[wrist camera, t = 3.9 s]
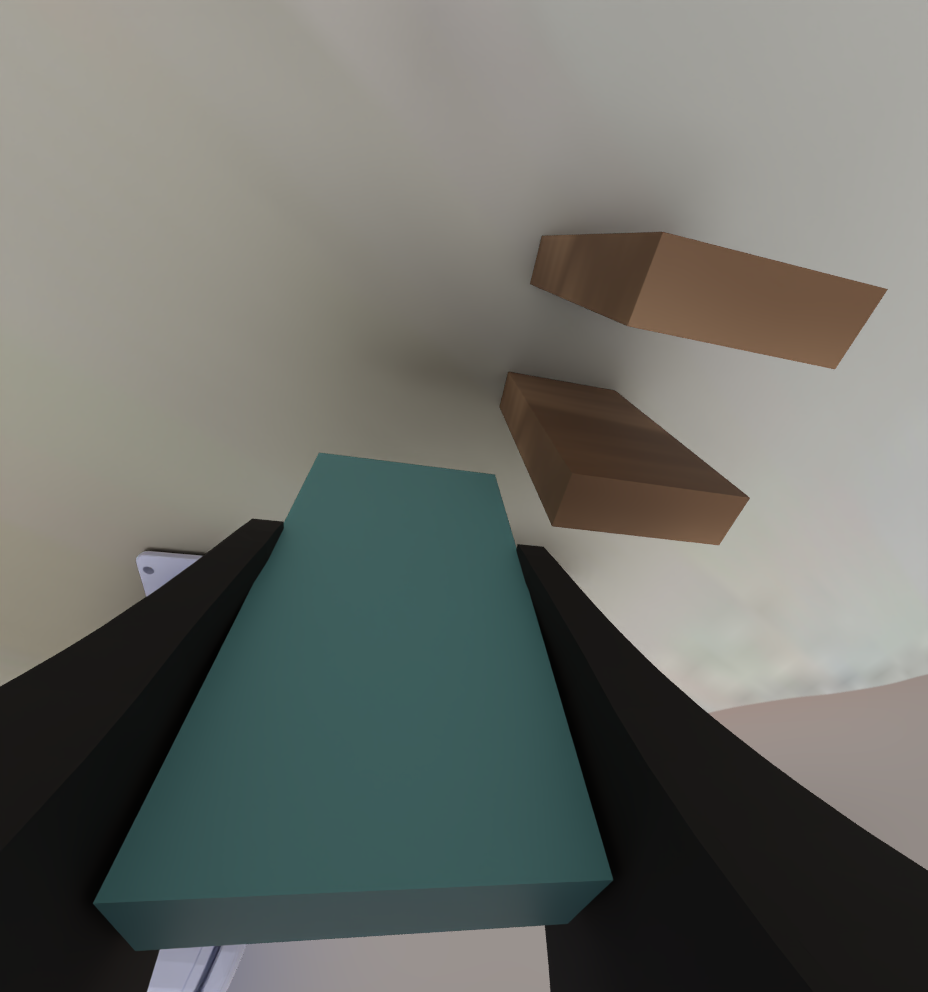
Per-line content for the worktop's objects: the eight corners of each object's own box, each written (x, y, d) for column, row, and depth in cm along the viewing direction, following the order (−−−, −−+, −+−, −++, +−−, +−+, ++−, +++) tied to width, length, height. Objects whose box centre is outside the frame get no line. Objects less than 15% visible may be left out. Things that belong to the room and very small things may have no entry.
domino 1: (646, 309, 16) (834, 369, 9) (530, 284, 16) (627, 326, 8) (664, 265, 16) (887, 289, 8) (542, 235, 15) (663, 232, 7)
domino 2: (602, 423, 19) (718, 545, 11) (499, 407, 18) (552, 526, 11) (615, 390, 18) (749, 497, 11) (508, 371, 17) (571, 473, 10)
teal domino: (483, 518, 13) (567, 924, 5) (319, 501, 12) (136, 950, 4) (494, 474, 12) (613, 879, 4) (319, 452, 11) (93, 902, 4)
